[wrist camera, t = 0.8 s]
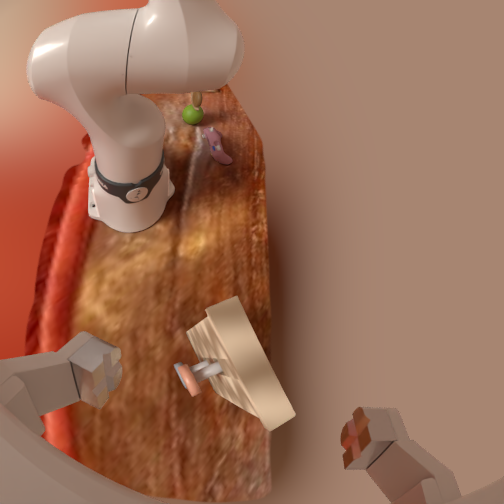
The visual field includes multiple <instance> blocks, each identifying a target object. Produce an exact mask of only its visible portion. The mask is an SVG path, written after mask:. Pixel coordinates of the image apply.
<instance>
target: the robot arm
mask: <svg viewBox="0 0 504 504" xmlns="http://www.w3.org/2000/svg"><path fill="white" fill-rule="evenodd" d="M243 57H244V40H243V36H242V33H241V31H240V29H239V28H238V26H237V25H236V23H235V22H234V21H233V20H232V19H231V18H230V17H229V16H228V15H227V14H226V13H225V12H224V11H223V10H222V9H221V7H220V6H219V4H218V3H217V1H216V0H149V3H148V4H147V6H145V7H142V8H139V9H120V10H109V11H100V12H92V13H86V14H81V15H78V16H75V17H73V18H70V19H67V20H64V21H62V22H59V23H57V24H55V25H53V26H50V27H48V28H46V29H45V30H44V31H43V32H42V33H41V34H40V36H39V37H38V38H37V40H36V41H35V43H34V45H33V46H32V49H31V51H30V54H29V57H28V61H27V78H28V82H29V85H30V87H31V89H32V91H33V92H34V93H35V94H36V95H37V96H38V97H39V98H40V99H43V100H46V101H49V102H52V103H54V104H56V105H59V106H60V107H62V108H64V109H65V110H66V111H68V112H69V113H71V114H72V115H73V116H74V117H75V118H76V119H77V120H78V121H79V122H80V123H81V124H82V125H83V126H84V128H85V129H86V130H87V132H88V134H89V136H90V139H91V142H92V146H93V149H94V154H95V156H94V157H93V158H92V159H91V166H89V167H88V176H89V177H90V179H89V201H88V212H89V216H90V217H91V218H94V219H97V220H101V221H103V222H104V223H106V224H107V225H108V226H110V227H111V228H113V229H115V230H117V231H121V232H137V231H141V230H144V229H146V228H148V227H150V226H151V225H153V224H154V223H155V222H156V221H157V220H158V219H159V218H160V216H161V215H162V213H163V211H164V209H165V205H166V203H167V201H168V199H169V198H170V197H171V196H172V195H173V194H174V192H175V187H174V185H173V184H172V182H171V181H170V179H169V169H167V168H166V166H165V165H164V151H163V142H164V134H165V126H166V125H165V119H164V116H163V114H162V112H161V111H160V109H159V108H158V107H157V105H156V104H155V103H154V102H152V101H151V100H149V99H148V98H146V97H144V96H141V95H139V94H151V93H175V94H183V93H191V92H199V91H207V90H214V89H220V88H221V87H223V86H224V85H226V84H227V83H228V82H229V81H230V80H231V79H232V78H233V77H234V75H235V74H236V73H237V71H238V70H239V67H240V65H241V63H242V60H243ZM93 206H95V207H93ZM120 358H121V350H120V349H119V348H118V347H116V346H114V345H112V344H110V343H108V342H106V341H104V340H101V339H99V338H97V337H95V336H93V335H91V334H89V333H87V332H85V331H84V332H80V333H79V334H78V335H77V336H75V337H74V338H73V339H72V340H71V341H69V342H68V343H67V344H66V345H65V346H63V347H62V348H61V349H60V350H59V351H58V352H56V353H55V352H53V351H52V352H46V353H41V354H35V355H29V356H23V357H17V358H11V359H4V360H0V504H168V503H165V502H162V501H159V500H157V499H154V498H151V497H149V496H146V495H143V494H141V493H139V492H136V491H134V490H131V489H129V488H127V487H125V486H122V485H120V484H118V483H116V482H114V481H112V480H110V479H108V478H106V477H104V476H102V475H100V474H98V473H96V472H95V471H93V470H91V469H89V468H87V467H86V466H84V465H82V464H81V463H79V462H77V461H76V460H74V459H72V458H71V457H69V456H68V455H66V454H65V453H63V452H62V451H60V450H59V449H57V448H56V447H54V446H53V445H51V444H50V443H49V442H47V441H46V440H45V439H43V438H42V437H41V435H42V434H43V432H44V431H45V426H44V424H43V423H42V421H41V419H40V417H39V416H41V415H44V414H46V413H49V412H52V411H54V410H57V409H60V408H62V407H65V406H67V405H70V404H72V403H75V402H77V401H80V399H81V400H82V401H84V402H86V403H88V404H90V405H92V406H94V407H96V408H98V409H101V407H102V406H103V405H104V403H105V402H106V401H107V399H108V398H109V395H108V392H109V391H112V390H115V389H116V387H117V386H118V385H119V382H120V380H121V377H122V366H121V364H120V363H119V361H118V360H119V359H120ZM341 446H342V447H343V448H344V449H345V450H346V451H345V453H344V454H343V461H344V468H345V470H366V472H367V473H368V474H369V476H370V477H371V478H372V479H373V480H374V482H375V483H376V484H377V486H378V487H379V488H380V489H381V491H382V492H383V493H384V494H385V495H386V497H387V498H388V499H389V501H390V502H391V504H504V477H502V478H500V479H499V480H497V481H495V482H493V483H491V484H489V485H487V486H485V487H483V488H481V489H479V490H476V491H474V492H472V493H470V494H467V495H465V496H461V494H460V491H459V488H458V485H457V482H456V480H455V477H454V474H453V472H452V471H451V470H450V469H448V468H447V467H446V466H445V465H443V464H442V463H441V462H440V461H438V460H437V459H436V458H435V457H433V456H432V455H431V454H430V453H428V452H427V451H426V450H425V449H424V448H422V447H421V446H420V445H419V444H418V443H416V442H415V441H414V440H410V439H409V436H408V434H407V431H406V428H405V426H404V423H403V421H402V418H401V416H400V413H399V411H398V410H397V409H396V408H373V407H372V408H371V407H358V408H357V409H356V410H355V411H354V413H353V419H351V420H350V421H348V422H347V423H346V424H345V426H344V427H343V429H342V433H341Z"/></svg>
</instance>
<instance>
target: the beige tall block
mask: <svg viewBox="0 0 504 504" xmlns="http://www.w3.org/2000/svg"><path fill="white" fill-rule="evenodd" d="M205 311H206V313H207V315H208V317H206V318H205V319H204V320H202V321H201V322H199V323H198V324H197V325H195V326H194V327H193V328H191V329H190V330H189V331H187V332H186V333H187V336H188V338H189V340H190V342H191V344H192V346H193V349H194V351H195V353H196V355H197V357H198V359H199V361H200V363H201V362H203V361H205V360H207V362H208V364H209V365H211V364H213V363H215V362H217V361H218V362H219V364H220V366H221V368H222V370H223V371H222V372H220V373H218V374H216V375H214V376H211V377H209V378H208V379H209V381H210V383H211V385H212V387H213V389H214V391H215V392H216V393H217V394H219V395H220V396H222V397H224V398H225V399H227V400H229V401H230V402H232V403H234V404H235V405H237V406H239V407H241V408H242V409H244V410H246V411H248V412H249V413H251V414H253V415H255V416H257V417H258V418H259V419H260V420H261V422H262V424H263V426H264V427H265V429H267V430H268V431H272V430H273V429H275V428H277V427H278V426H280V425H281V424H283V423H285V422H286V421H288V420H289V419H291V418H293V417H294V416H295V415H296V414H295V412H294V410H293V409H292V406H291V405H290V403H289V401H288V399H287V397H286V395H285V393H284V391H283V389H282V387H281V385H280V383H279V381H278V379H277V377H276V375H275V373H274V371H273V369H272V367H271V365H270V363H269V361H268V359H267V357H266V355H265V353H264V351H263V349H262V347H261V345H260V343H259V341H258V339H257V336H256V334H255V332H254V330H253V328H252V326H251V324H250V322H249V320H248V318H247V316H246V313H245V311H244V309H243V307H242V305H241V303H240V301H239V299H238V296H235V297H232V298H230V299H228V300H225V301H223V302H220V303H218V304H216V305H213V306H211V307H208V308H207V309H206V310H205Z"/></svg>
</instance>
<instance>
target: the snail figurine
mask: <svg viewBox="0 0 504 504" xmlns="http://www.w3.org/2000/svg"><path fill="white" fill-rule="evenodd" d="M191 102H192V104H191V105H188V106H187V107H185V109H184V110H183V113H182V117H183V120H184V121H185V122H186V123H188V124H191V125H193V124H197V123H199V122H200V121H201V120H202V118H203V114H204V113H203V110H202V108H201V107H200V105H201V103H202V94H201V92H200V91H199V92H191Z"/></svg>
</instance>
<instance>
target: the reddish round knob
mask: <svg viewBox="0 0 504 504" xmlns="http://www.w3.org/2000/svg"><path fill="white" fill-rule="evenodd" d="M178 371H179V373H180V375H181V377H182V379H183V381H184V383H185V385H186V387H187V389H188V391H189V392H190V394H191V396H195V395H197V394H199V393H201V390H200V388H199V385H198V382H200V381H203V380H205V379H207V378H209V377H211V376H214V375H216V374H218V373H220V372H222V371H223V370H222V368H221V366H220V364H219V362H218V361H217V362H215V363H213V364H211V365H209V366H206V367H204V368H202V369H200V370H197V371H195V372H193V373H192V372H191V370H190V368H189V367H188V365H187V364H185V365H182V366H180V367H178Z"/></svg>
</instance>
